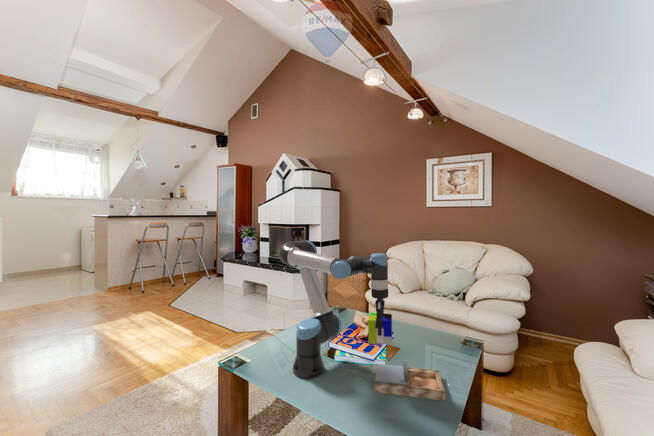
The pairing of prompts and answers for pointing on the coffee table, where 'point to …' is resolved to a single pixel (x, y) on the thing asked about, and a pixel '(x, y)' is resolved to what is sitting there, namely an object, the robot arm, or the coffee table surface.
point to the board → (416, 385)
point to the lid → (392, 374)
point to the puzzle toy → (386, 329)
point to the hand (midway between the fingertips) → (380, 337)
